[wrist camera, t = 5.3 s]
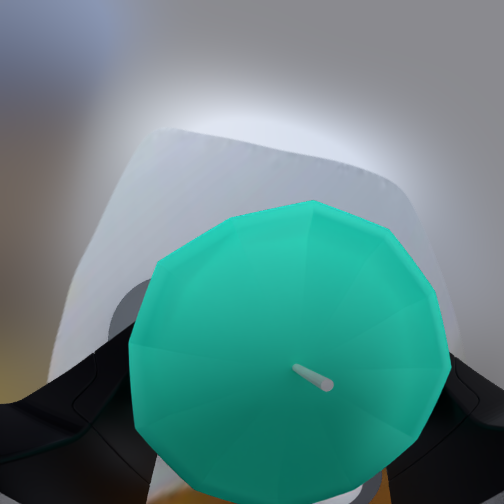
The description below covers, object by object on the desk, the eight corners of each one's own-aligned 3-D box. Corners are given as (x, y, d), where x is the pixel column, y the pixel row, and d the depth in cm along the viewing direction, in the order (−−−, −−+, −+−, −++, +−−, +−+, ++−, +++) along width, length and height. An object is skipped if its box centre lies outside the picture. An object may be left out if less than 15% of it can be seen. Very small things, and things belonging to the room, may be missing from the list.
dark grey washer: (371, 498, 16) (380, 507, 14) (287, 519, 15) (290, 531, 13) (372, 432, 18) (382, 439, 16) (279, 453, 18) (282, 464, 16)
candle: (324, 298, 15) (486, 190, 3) (313, 405, 13) (454, 524, 2) (215, 286, 15) (129, 133, 4) (201, 394, 13) (77, 519, 2)
